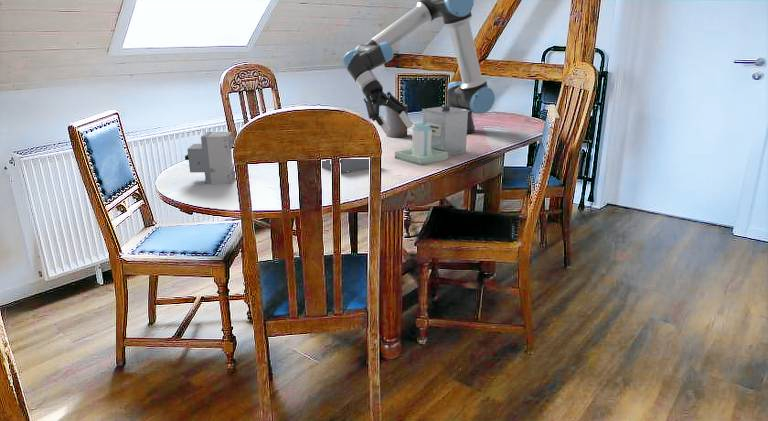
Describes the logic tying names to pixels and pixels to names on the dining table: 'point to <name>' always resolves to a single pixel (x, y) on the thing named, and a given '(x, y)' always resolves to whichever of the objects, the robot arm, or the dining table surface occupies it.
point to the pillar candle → (395, 123)
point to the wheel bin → (348, 164)
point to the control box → (447, 128)
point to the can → (421, 140)
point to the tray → (408, 157)
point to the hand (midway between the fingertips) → (399, 128)
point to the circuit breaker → (213, 157)
